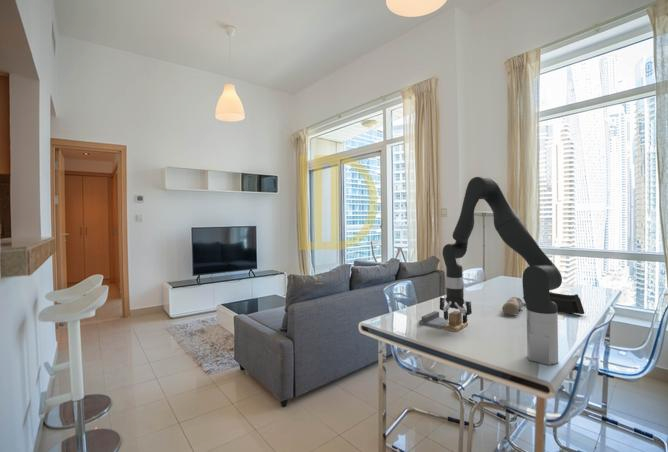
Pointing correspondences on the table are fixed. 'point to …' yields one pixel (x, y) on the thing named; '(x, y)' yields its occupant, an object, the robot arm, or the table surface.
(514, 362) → the table surface
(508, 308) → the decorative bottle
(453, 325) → the stub
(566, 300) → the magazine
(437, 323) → the board
